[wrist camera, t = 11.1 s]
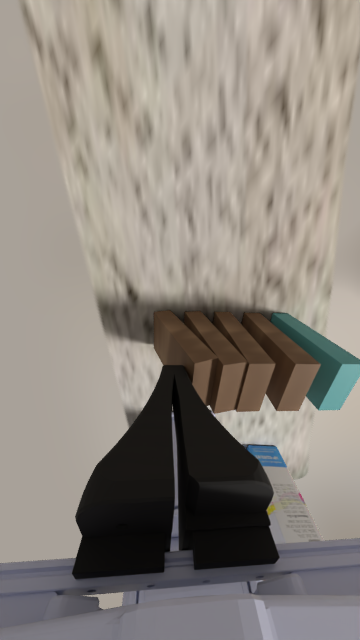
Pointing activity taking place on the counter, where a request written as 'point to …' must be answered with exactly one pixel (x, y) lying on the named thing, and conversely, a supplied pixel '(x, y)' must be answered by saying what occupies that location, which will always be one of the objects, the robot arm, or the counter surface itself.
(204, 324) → the domino
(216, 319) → the domino
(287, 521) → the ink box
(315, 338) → the domino
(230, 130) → the counter surface
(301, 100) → the counter surface
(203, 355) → the domino
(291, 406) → the domino
